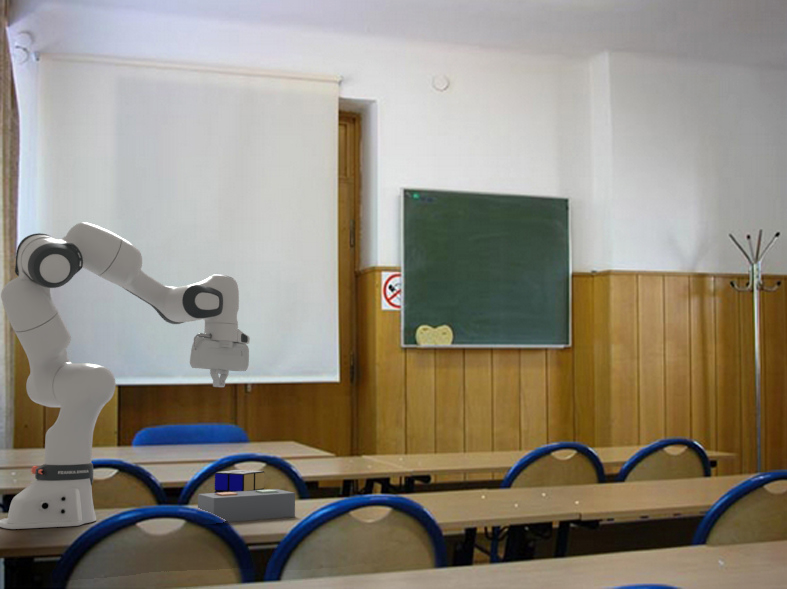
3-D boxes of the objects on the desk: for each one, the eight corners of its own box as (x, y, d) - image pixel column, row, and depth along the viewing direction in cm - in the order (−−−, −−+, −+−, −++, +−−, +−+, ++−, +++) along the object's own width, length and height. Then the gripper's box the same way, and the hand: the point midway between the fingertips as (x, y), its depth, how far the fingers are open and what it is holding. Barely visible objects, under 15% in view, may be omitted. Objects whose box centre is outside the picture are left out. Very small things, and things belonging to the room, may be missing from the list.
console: (213, 523, 227) (214, 498, 228) (197, 517, 237) (198, 493, 237) (294, 516, 239) (295, 492, 239) (276, 511, 248) (276, 489, 249)
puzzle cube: (213, 509, 255) (214, 472, 256) (235, 505, 264) (236, 469, 265) (243, 511, 250) (243, 473, 251) (264, 507, 259) (265, 470, 260)
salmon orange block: (221, 518, 232) (221, 494, 233) (215, 516, 236) (215, 492, 236) (237, 516, 234) (237, 493, 235) (230, 514, 238) (231, 491, 238)
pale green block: (262, 514, 238) (262, 491, 238) (255, 513, 241) (255, 490, 242) (277, 513, 240) (277, 490, 241) (270, 511, 244) (270, 489, 244)
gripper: (204, 331, 240) (201, 385, 238) (253, 337, 257) (251, 388, 256) (185, 332, 243) (183, 385, 241) (235, 338, 260) (233, 388, 259)
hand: (218, 387), depth 249 cm, fingers closed
